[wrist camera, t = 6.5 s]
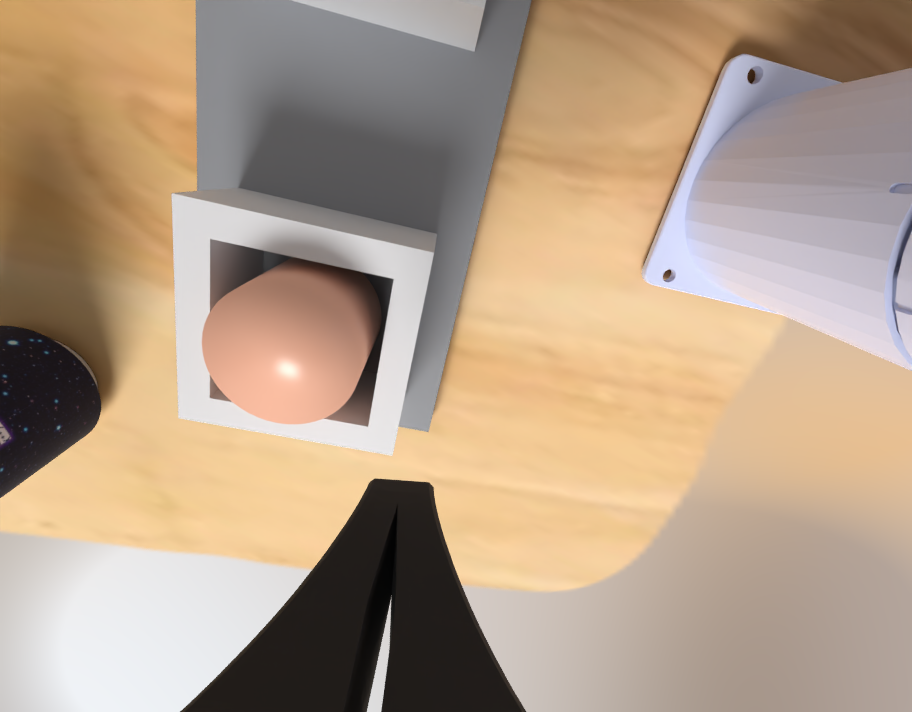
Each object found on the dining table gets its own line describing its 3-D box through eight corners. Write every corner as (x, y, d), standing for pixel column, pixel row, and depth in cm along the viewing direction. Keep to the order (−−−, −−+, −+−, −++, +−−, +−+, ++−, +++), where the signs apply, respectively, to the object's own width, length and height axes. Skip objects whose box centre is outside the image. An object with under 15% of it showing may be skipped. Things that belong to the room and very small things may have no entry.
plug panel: (599, -300, 11) (701, -613, 7) (429, 420, 20) (424, 492, 16) (214, -447, 10) (30, -934, 6) (210, 379, 19) (136, 445, 15)
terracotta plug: (390, 268, 15) (371, 300, 11) (372, 375, 17) (350, 436, 13) (265, 240, 15) (201, 264, 11) (259, 353, 17) (201, 409, 13)
